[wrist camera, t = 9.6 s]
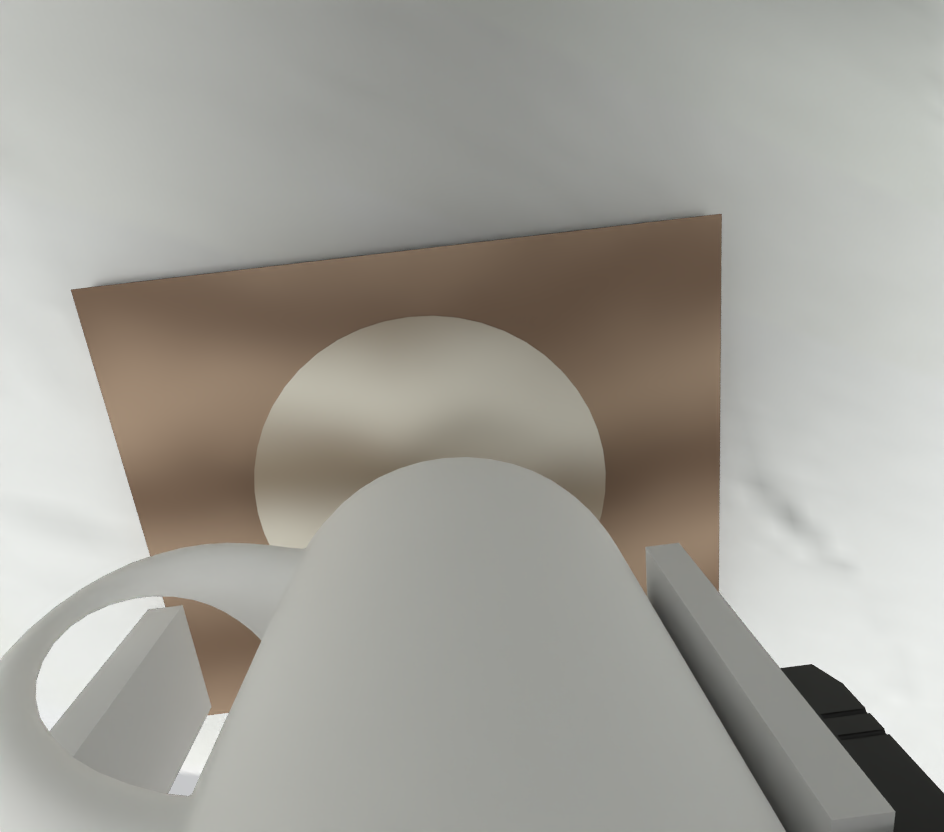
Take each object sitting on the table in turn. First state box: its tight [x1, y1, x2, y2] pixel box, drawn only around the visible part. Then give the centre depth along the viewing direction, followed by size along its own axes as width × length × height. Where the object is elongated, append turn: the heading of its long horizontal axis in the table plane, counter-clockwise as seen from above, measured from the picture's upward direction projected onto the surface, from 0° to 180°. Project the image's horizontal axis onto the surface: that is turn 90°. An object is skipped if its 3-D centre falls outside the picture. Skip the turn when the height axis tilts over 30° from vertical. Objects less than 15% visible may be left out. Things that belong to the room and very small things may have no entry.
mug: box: [0, 457, 786, 832], centre depth 10 cm, size 9×12×11 cm
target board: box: [71, 214, 722, 715], centre depth 21 cm, size 16×20×1 cm
